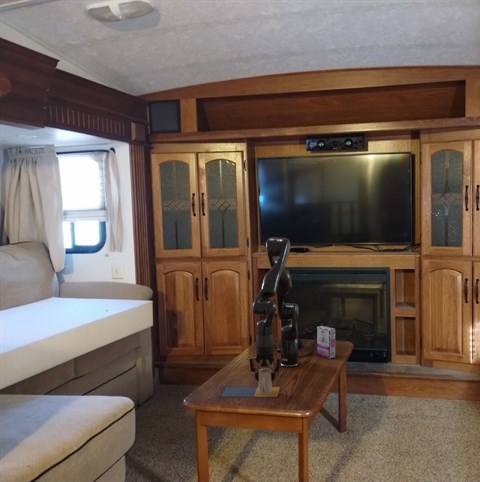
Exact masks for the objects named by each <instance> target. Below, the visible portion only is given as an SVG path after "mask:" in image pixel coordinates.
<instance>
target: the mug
mask: <svg viewBox="0 0 480 482" xmlns="http://www.w3.org/2000/svg"><path fill="white" fill-rule="evenodd" d="M257 387H258V392H259V393H260V394H269V393H271V392H272V387H273V381H272V371H271V369H270V368H261V369H260V368H259V370H258V381H257Z"/></svg>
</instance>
